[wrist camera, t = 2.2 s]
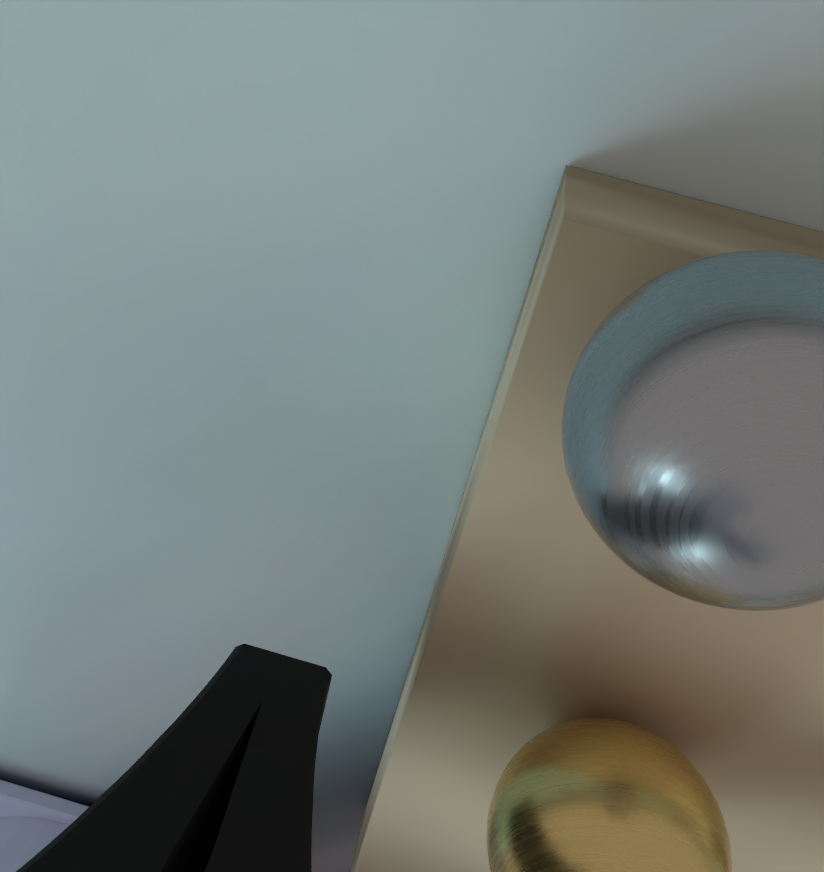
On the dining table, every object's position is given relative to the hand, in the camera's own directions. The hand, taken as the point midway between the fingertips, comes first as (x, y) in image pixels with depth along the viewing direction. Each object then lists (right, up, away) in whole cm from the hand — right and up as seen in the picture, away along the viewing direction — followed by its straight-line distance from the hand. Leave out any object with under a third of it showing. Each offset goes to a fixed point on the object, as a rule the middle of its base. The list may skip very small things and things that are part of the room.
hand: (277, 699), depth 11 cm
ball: (+5, -2, -1) cm, 5 cm away
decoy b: (+5, +4, -4) cm, 8 cm away
